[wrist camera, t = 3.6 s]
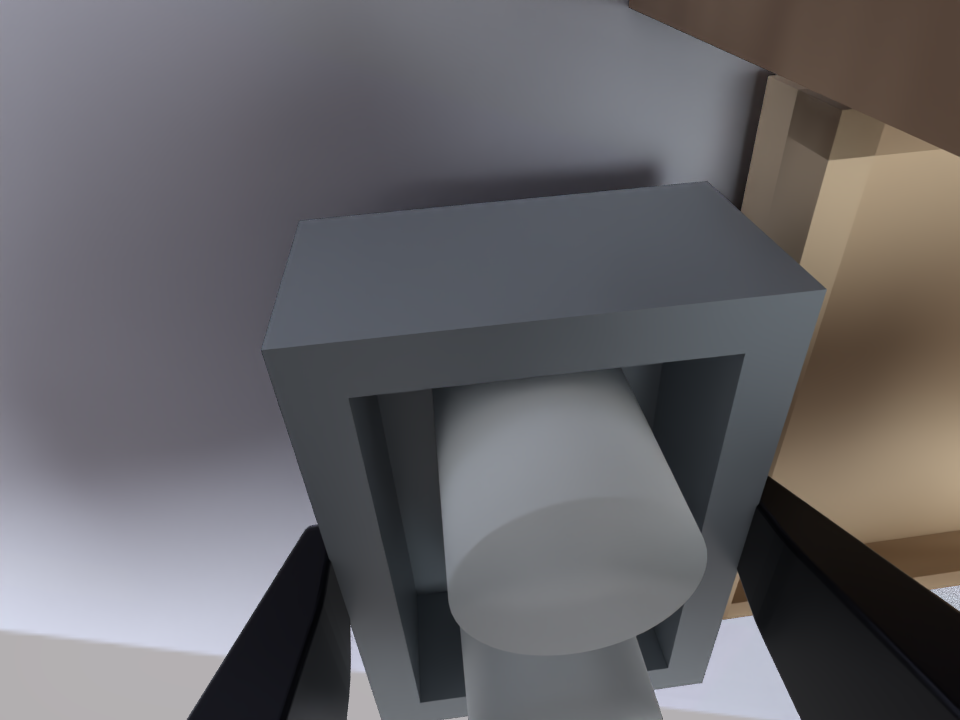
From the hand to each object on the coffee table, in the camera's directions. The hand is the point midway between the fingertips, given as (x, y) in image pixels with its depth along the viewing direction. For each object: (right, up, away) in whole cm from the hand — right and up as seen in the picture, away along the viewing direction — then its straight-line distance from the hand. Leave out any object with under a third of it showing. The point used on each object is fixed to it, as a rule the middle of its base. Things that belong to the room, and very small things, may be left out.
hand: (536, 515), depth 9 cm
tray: (0, +1, +2) cm, 2 cm away
